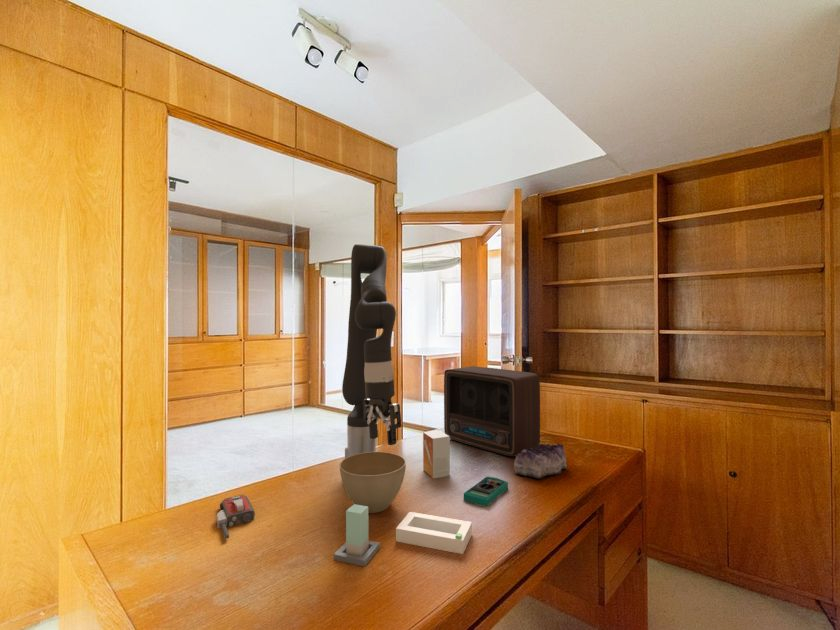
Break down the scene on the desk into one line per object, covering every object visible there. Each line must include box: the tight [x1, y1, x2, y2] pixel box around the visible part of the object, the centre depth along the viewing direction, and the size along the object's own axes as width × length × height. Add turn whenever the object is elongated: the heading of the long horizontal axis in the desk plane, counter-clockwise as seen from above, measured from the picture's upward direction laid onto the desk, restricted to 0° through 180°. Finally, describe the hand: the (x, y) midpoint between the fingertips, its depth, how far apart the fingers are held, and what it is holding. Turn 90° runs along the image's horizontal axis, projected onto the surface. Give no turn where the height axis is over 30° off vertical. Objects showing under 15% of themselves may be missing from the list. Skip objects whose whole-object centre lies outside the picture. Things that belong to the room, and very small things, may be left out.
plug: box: [345, 503, 370, 557], centre depth 93 cm, size 4×4×10 cm
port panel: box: [395, 511, 473, 555], centre depth 100 cm, size 16×9×4 cm, turn 70°
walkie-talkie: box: [216, 494, 256, 540], centre depth 109 cm, size 9×4×20 cm
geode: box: [513, 443, 568, 479], centre depth 141 cm, size 20×12×10 cm, turn 124°
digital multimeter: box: [463, 476, 509, 508], centre depth 124 cm, size 8×16×3 cm, turn 146°
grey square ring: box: [333, 540, 381, 567], centre depth 93 cm, size 7×7×1 cm
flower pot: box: [339, 451, 407, 514], centre depth 116 cm, size 18×18×12 cm
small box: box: [422, 429, 451, 479], centre depth 140 cm, size 8×6×13 cm
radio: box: [443, 365, 541, 458], centre depth 169 cm, size 36×18×30 cm, turn 43°
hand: (382, 441), depth 109 cm, fingers open, 8 cm apart
